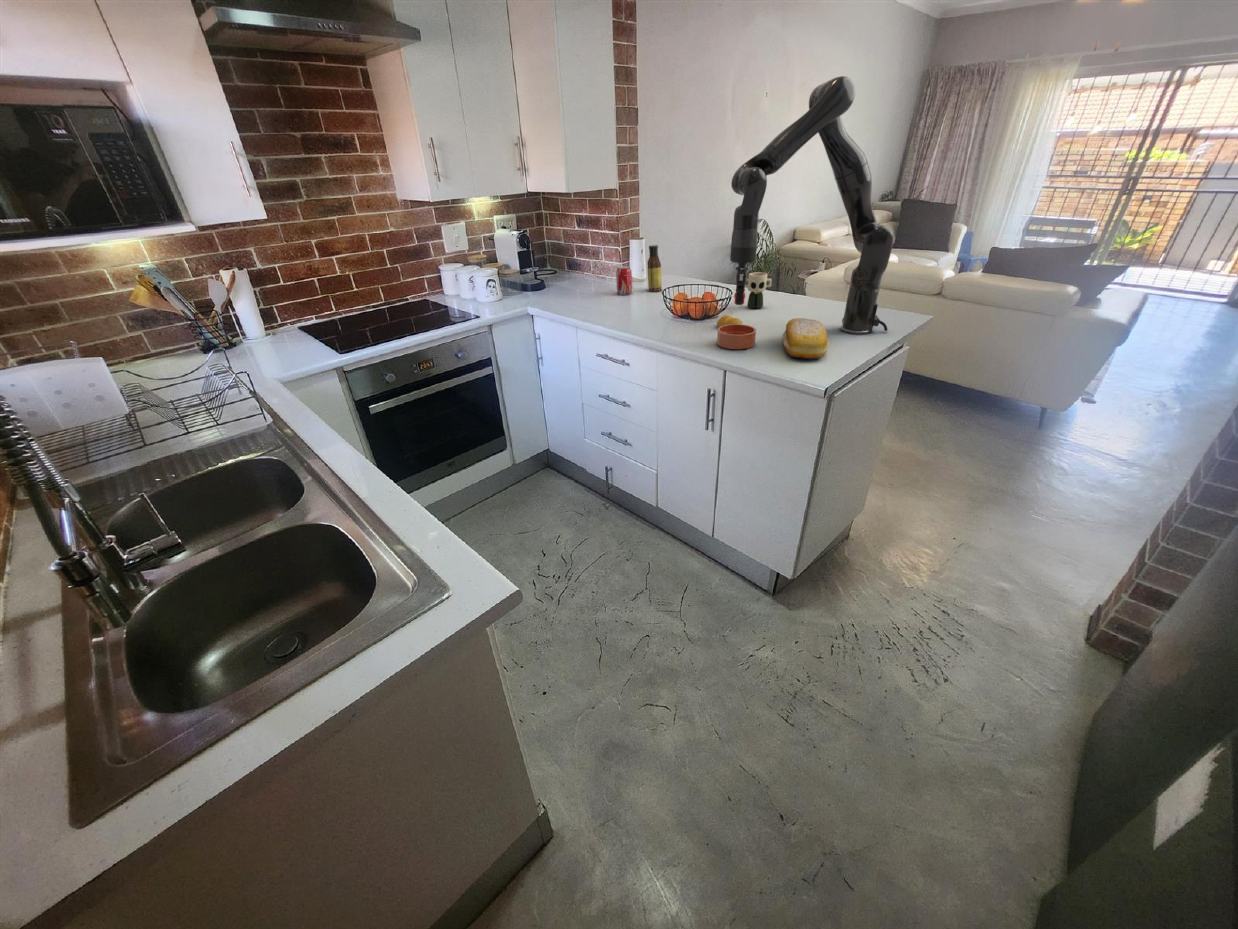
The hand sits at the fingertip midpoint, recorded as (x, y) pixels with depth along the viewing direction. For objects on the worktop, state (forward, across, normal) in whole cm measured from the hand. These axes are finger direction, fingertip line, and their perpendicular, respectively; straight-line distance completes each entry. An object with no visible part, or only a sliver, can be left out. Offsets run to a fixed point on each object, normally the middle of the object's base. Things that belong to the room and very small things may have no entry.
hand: (739, 302), depth 160 cm
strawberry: (0, 0, 0) cm, 0 cm away
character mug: (+14, +48, -6) cm, 50 cm away
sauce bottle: (+14, +76, +40) cm, 87 cm away
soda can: (+14, +69, +53) cm, 88 cm away
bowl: (+14, +1, 0) cm, 14 cm away
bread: (+14, -1, -21) cm, 25 cm away
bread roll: (+14, +20, +3) cm, 24 cm away
